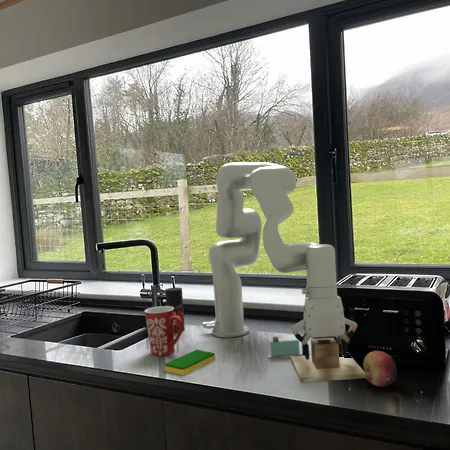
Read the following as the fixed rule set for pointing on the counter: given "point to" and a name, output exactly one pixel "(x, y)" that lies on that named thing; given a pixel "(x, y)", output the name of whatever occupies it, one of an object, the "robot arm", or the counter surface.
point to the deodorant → (175, 305)
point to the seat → (311, 374)
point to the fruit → (380, 368)
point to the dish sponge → (189, 362)
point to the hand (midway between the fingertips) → (325, 356)
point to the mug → (162, 329)
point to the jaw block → (325, 353)
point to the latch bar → (284, 347)
